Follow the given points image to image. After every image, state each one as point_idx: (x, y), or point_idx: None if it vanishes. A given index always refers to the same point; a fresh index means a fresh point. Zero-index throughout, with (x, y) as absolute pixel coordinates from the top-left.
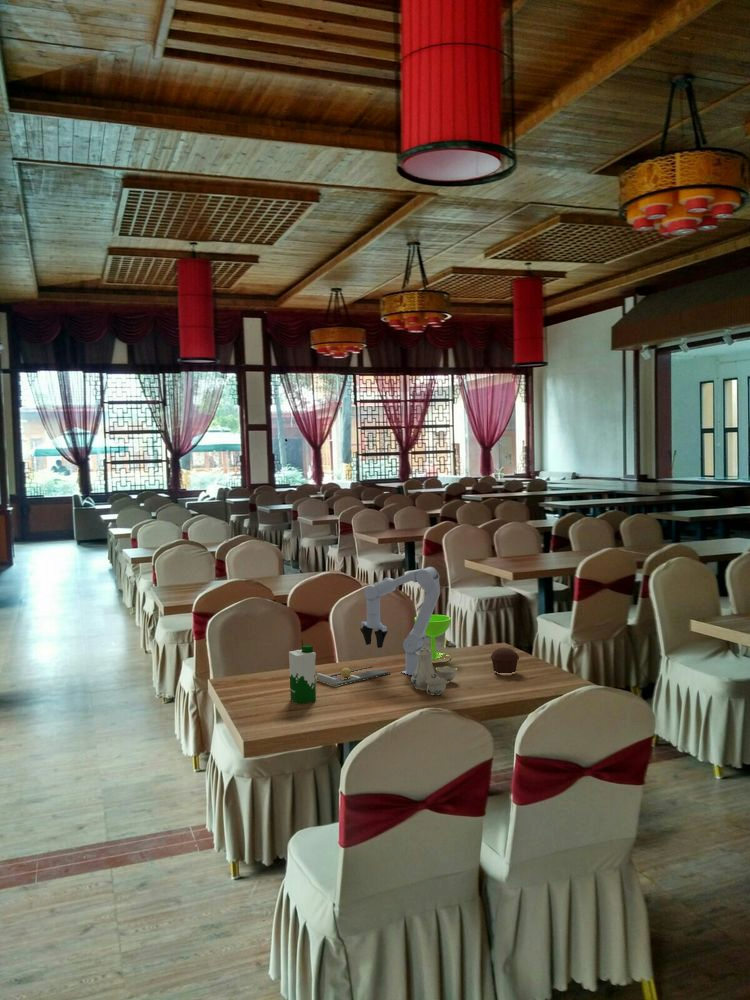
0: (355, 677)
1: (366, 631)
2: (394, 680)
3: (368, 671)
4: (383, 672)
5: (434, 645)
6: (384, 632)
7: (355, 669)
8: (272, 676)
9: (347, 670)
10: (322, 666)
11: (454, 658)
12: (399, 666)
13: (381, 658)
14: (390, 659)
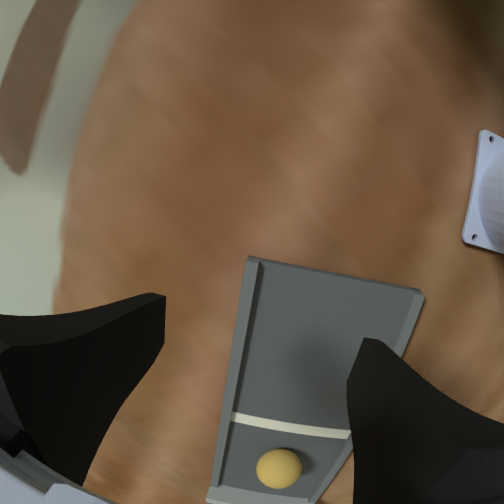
0: (313, 437)
1: (79, 443)
2: (477, 356)
3: (300, 344)
4: (406, 339)
5: None
6: (489, 491)
7: (230, 372)
8: (91, 466)
9: (292, 483)
10: None
11: None
12: (362, 105)
13: (139, 41)
14: (196, 19)
